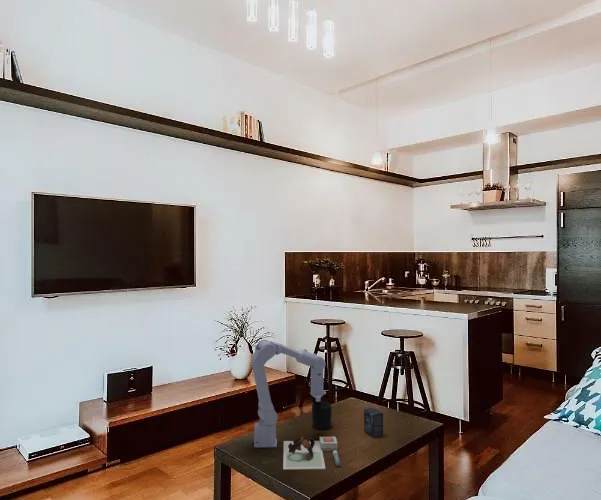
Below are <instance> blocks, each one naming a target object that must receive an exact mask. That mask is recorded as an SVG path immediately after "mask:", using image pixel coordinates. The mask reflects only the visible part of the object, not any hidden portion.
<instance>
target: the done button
mask: <svg viewBox="0 0 601 500" xmlns="http://www.w3.org/2000/svg"><path fill="white" fill-rule="evenodd" d="M324 437H325V438H324V442H333V438H332V437H333V436H324Z"/></svg>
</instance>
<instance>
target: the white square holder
mask: <svg viewBox="0 0 601 500" xmlns="http://www.w3.org/2000/svg"><path fill="white" fill-rule="evenodd" d="M325 437H326V436H319V441H320V447H321V450H322V452H323V451H326V452H329V451H330V452H331V451H332V452H333V451H334V450H336V451H338V441H337V437H336V436H331V437H332V438H333V442H324V438H325Z"/></svg>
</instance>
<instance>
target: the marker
mask: <svg viewBox="0 0 601 500" xmlns="http://www.w3.org/2000/svg"><path fill="white" fill-rule="evenodd" d="M338 453H339V452H338V450H334V451H332V454H333V455H332V456H333V459H334V463H335V466H336V467H340V466H341V461H340V458H339V454H338Z"/></svg>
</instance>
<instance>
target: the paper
mask: <svg viewBox="0 0 601 500" xmlns="http://www.w3.org/2000/svg"><path fill="white" fill-rule="evenodd" d="M293 441H294V440H284V441H283V456H282V457H283V463H282V467H283V468H282V469H283V470H284V471H285V470H287V471H288V470H289V471H290V470H293V471H295V470H299V471H301V470H326V465H325V459H324V453H323V451H322V450H321V447H320V440H314V441H315V444H314V447H313V448H312V451H313V455H314V456H313V457H312V458H311V459H310V460H309V461H308V460H307V457H306V455H307V454H308V453H309V451H308V450H307V448H305V447H304V446H303V445H302V444H301V450H296V451H295V452H294V454H293V453H292V452H291V453H289V448H288V445H289V444H290V443H292V445H293V444H294V443H293ZM309 443H310V444H311V441H310V442H309Z"/></svg>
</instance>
